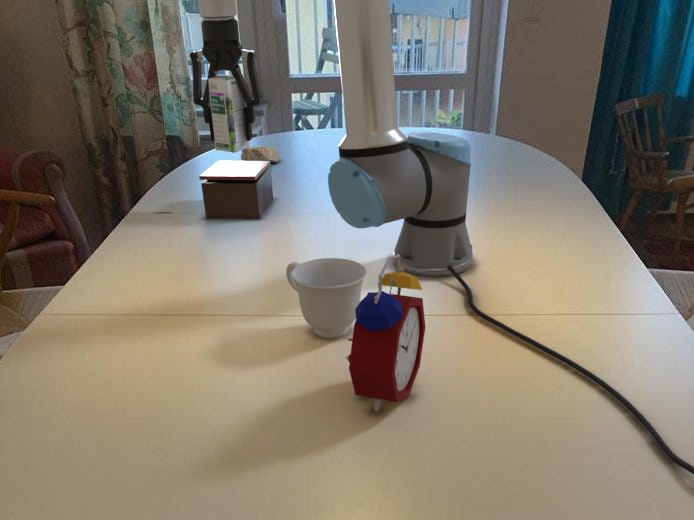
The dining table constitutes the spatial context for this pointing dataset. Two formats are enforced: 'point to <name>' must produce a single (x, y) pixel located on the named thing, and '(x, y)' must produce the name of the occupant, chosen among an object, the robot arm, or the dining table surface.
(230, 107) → the syrup box
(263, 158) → the stone
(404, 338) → the alarm clock
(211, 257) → the dining table surface
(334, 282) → the teacup
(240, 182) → the chest
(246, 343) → the dining table surface
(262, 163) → the lid
